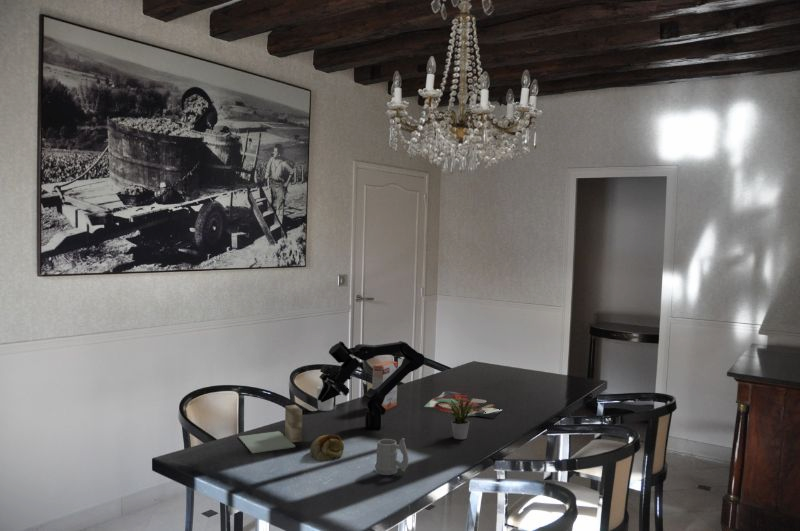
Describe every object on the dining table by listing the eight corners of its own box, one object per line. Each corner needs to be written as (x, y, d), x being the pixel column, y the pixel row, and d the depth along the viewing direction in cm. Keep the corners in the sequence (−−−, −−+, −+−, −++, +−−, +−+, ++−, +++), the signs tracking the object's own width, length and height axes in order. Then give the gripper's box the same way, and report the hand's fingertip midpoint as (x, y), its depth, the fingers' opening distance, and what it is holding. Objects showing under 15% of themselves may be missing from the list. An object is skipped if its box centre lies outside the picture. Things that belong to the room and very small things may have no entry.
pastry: (329, 464, 211) (329, 440, 211) (301, 457, 218) (301, 434, 218) (353, 452, 223) (353, 430, 223) (326, 446, 230) (326, 425, 230)
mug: (381, 465, 210) (382, 430, 210) (413, 472, 205) (413, 436, 205) (370, 472, 204) (371, 436, 203) (402, 479, 198) (403, 442, 198)
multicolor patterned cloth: (418, 411, 283) (419, 406, 283) (444, 395, 315) (445, 391, 315) (492, 420, 269) (492, 416, 269) (512, 402, 301) (512, 399, 301)
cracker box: (382, 412, 277) (383, 366, 276) (371, 411, 280) (371, 364, 279) (397, 406, 289) (398, 361, 289) (386, 404, 292) (387, 360, 291)
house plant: (485, 434, 247) (485, 393, 247) (477, 444, 234) (478, 401, 234) (450, 430, 252) (451, 390, 252) (441, 440, 239) (442, 398, 239)
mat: (279, 432, 246) (279, 431, 246) (295, 447, 228) (295, 445, 228) (238, 437, 238) (238, 436, 238) (252, 453, 220) (252, 452, 220)
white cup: (331, 411, 277) (331, 389, 277) (314, 410, 279) (314, 388, 278) (336, 407, 285) (336, 385, 284) (320, 406, 286) (320, 384, 286)
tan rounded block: (294, 435, 242) (295, 404, 242) (301, 441, 235) (302, 409, 235) (285, 436, 240) (285, 405, 240) (291, 442, 233) (292, 410, 233)
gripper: (324, 353, 253) (298, 382, 248) (342, 361, 236) (314, 392, 231) (341, 371, 257) (316, 400, 252) (360, 380, 240) (333, 411, 235)
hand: (319, 400), depth 243 cm, fingers open, 3 cm apart
